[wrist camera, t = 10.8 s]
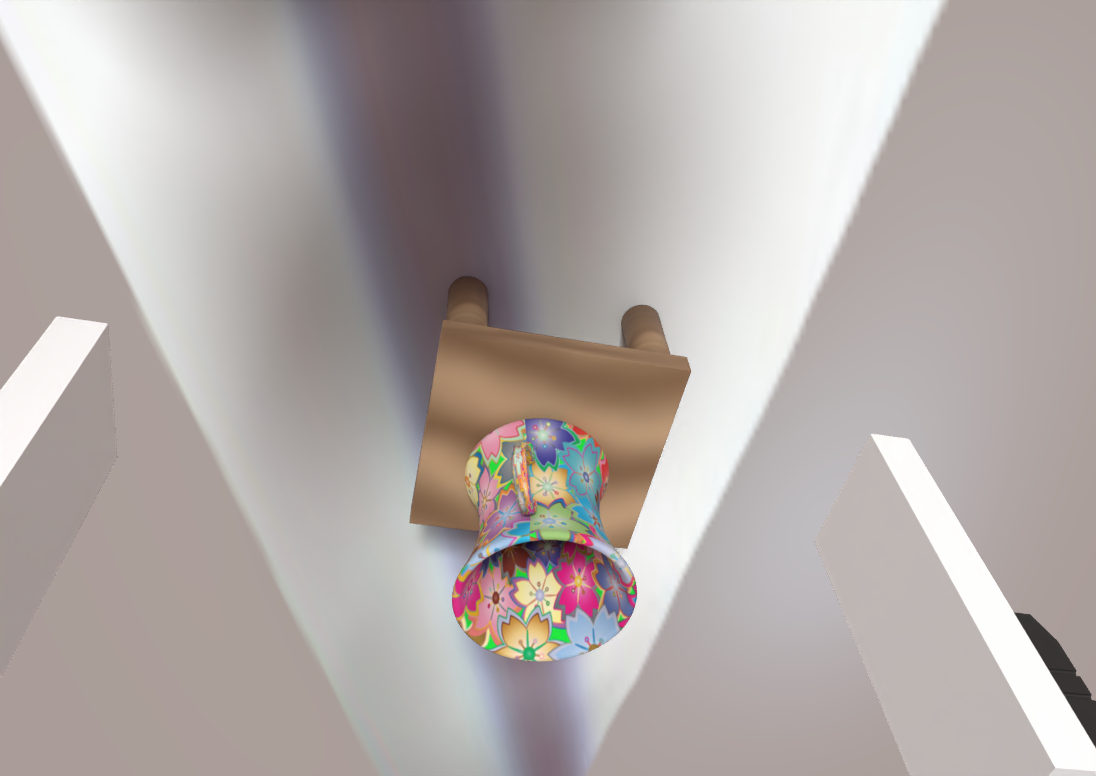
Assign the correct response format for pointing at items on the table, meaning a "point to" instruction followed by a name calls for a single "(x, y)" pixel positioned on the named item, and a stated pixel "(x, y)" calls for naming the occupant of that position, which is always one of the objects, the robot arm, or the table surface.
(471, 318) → the stool
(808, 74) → the table surface
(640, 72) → the table surface
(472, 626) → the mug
